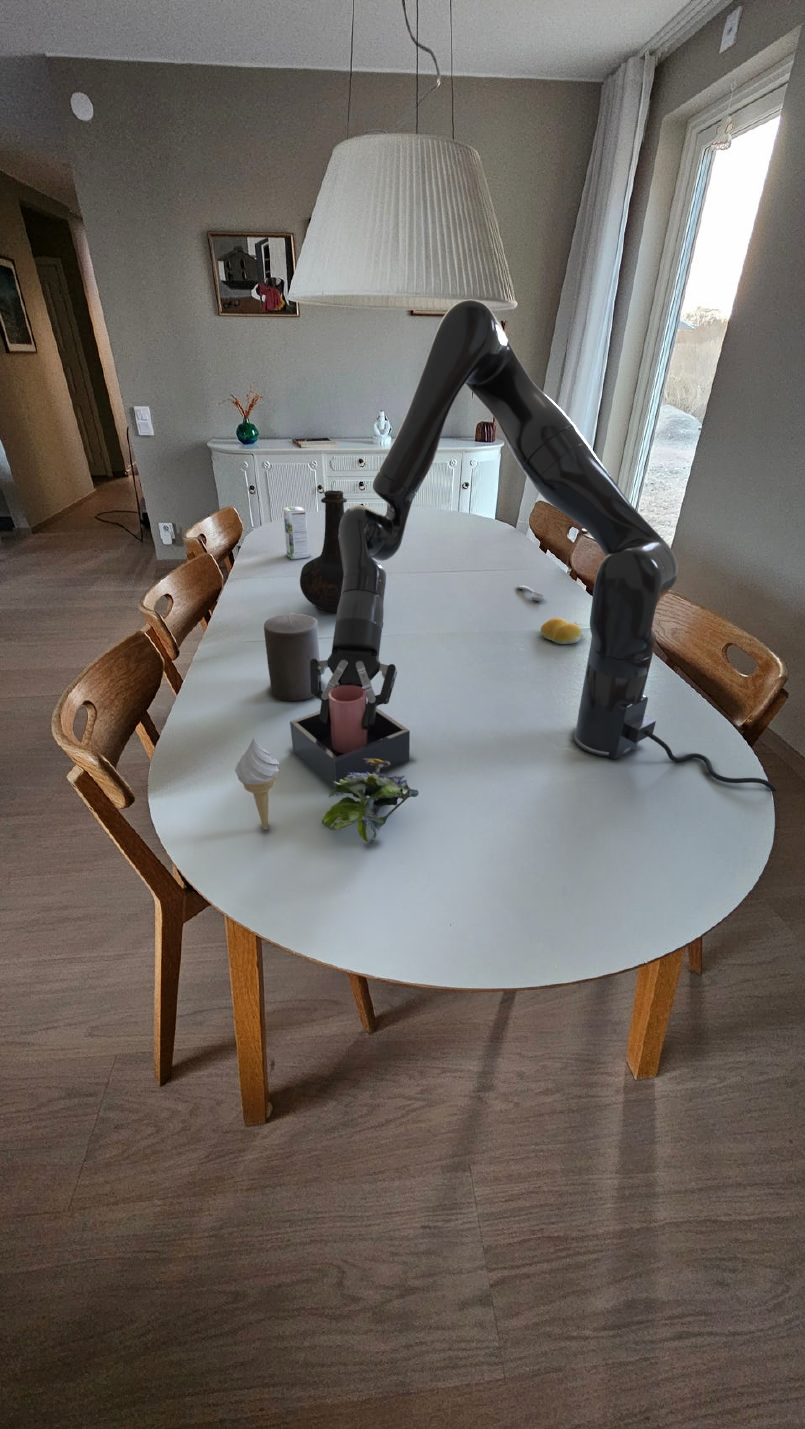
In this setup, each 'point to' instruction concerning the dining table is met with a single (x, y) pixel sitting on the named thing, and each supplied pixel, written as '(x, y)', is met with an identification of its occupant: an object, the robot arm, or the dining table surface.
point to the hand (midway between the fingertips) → (346, 726)
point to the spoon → (534, 595)
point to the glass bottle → (326, 559)
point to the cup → (347, 717)
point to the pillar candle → (291, 654)
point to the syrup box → (296, 532)
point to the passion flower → (366, 799)
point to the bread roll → (561, 631)
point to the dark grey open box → (332, 765)
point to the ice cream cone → (258, 776)
